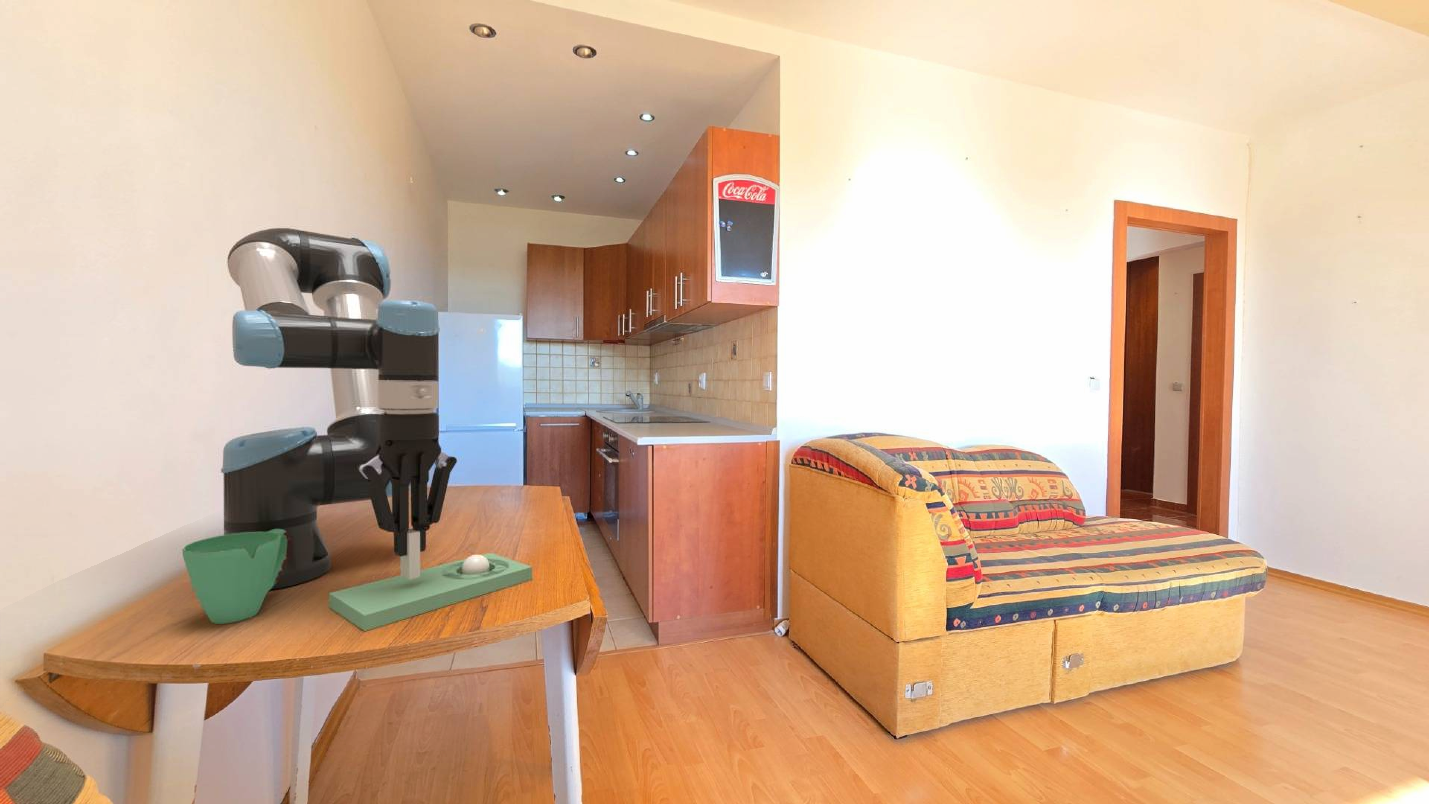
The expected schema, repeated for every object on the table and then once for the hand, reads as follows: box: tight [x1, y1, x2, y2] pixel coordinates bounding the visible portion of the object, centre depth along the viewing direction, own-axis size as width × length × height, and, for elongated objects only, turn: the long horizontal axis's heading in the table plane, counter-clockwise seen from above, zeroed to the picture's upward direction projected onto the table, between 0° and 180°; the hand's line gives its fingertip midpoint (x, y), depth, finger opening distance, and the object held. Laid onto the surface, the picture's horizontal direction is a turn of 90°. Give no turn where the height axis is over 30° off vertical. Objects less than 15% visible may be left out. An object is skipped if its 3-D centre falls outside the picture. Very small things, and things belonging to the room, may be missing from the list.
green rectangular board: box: [328, 552, 533, 632], centre depth 83 cm, size 24×12×2 cm, turn 142°
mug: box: [182, 529, 290, 625], centre depth 77 cm, size 15×10×10 cm
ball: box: [462, 554, 489, 575], centre depth 88 cm, size 4×4×4 cm
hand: (410, 575), depth 80 cm, fingers closed
